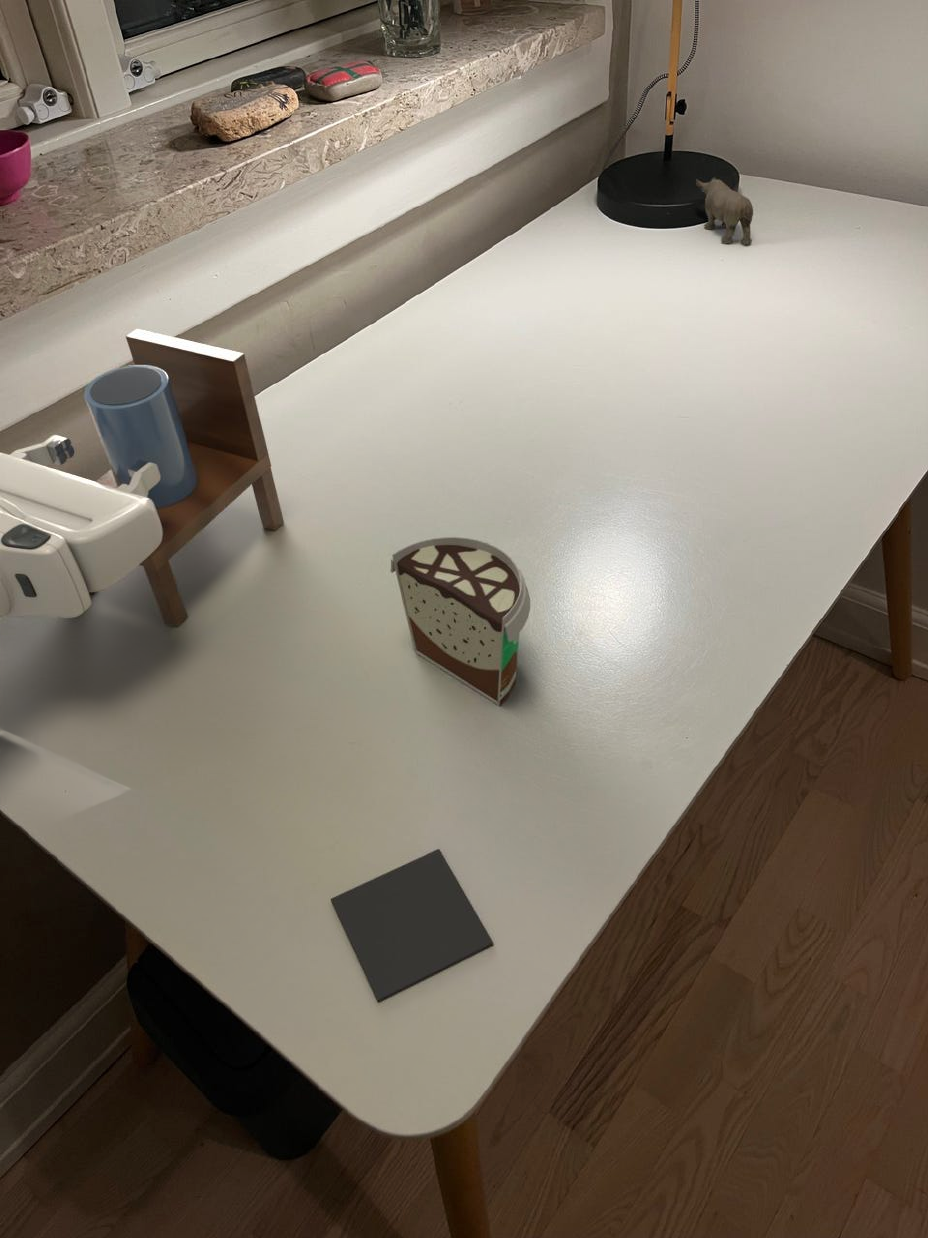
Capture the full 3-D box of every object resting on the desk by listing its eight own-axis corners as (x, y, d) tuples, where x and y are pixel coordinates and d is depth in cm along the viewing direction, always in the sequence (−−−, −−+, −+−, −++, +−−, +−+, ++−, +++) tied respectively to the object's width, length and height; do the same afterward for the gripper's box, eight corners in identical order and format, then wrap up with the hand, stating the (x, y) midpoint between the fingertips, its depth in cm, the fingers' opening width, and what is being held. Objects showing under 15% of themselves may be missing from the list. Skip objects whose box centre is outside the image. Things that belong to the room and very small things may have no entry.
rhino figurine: (707, 206, 145) (711, 162, 141) (757, 243, 135) (763, 197, 131) (681, 212, 144) (684, 168, 140) (729, 250, 134) (734, 204, 130)
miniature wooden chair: (177, 628, 89) (113, 454, 76) (75, 590, 93) (0, 420, 81) (285, 522, 99) (244, 353, 86) (188, 492, 103) (136, 328, 91)
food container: (564, 670, 82) (564, 576, 75) (514, 716, 79) (508, 621, 72) (452, 604, 88) (443, 512, 82) (401, 644, 85) (387, 551, 79)
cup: (130, 518, 87) (93, 416, 80) (113, 478, 92) (76, 378, 85) (207, 493, 89) (177, 391, 82) (187, 455, 94) (156, 355, 87)
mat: (378, 1003, 63) (377, 1000, 63) (331, 901, 68) (330, 898, 68) (493, 945, 65) (493, 942, 65) (439, 851, 71) (438, 848, 70)
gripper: (-95, 552, 82) (31, 459, 91) (95, 624, 74) (213, 515, 83) (-132, 488, 78) (4, 397, 86) (66, 557, 70) (194, 450, 79)
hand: (108, 455), depth 85 cm, fingers open, 8 cm apart
